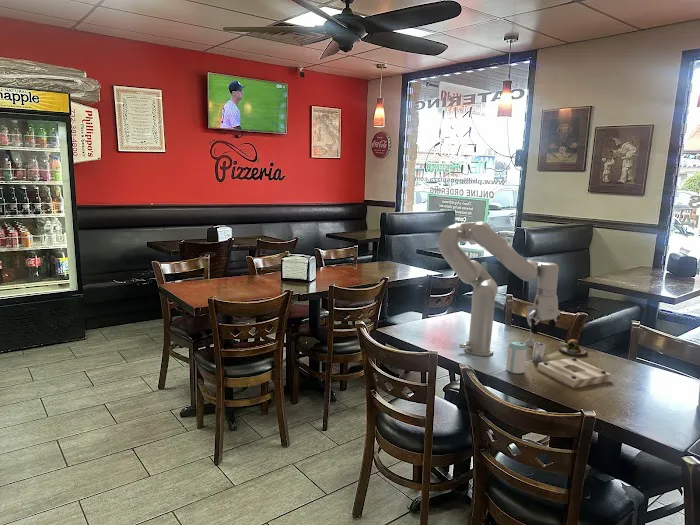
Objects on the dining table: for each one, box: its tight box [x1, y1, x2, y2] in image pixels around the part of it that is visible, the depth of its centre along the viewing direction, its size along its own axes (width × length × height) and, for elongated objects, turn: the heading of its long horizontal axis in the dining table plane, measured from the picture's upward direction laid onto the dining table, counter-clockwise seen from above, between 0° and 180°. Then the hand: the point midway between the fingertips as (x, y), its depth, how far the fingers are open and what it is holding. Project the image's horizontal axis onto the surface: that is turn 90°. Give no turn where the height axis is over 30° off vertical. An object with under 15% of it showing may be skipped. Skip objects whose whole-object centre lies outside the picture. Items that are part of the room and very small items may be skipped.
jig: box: [536, 357, 612, 389], centre depth 194 cm, size 20×18×4 cm
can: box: [505, 340, 528, 375], centre depth 195 cm, size 7×7×12 cm
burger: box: [558, 334, 588, 356], centre depth 221 cm, size 12×12×8 cm
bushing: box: [531, 341, 546, 365], centre depth 207 cm, size 5×5×8 cm
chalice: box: [524, 305, 537, 347], centre depth 228 cm, size 7×7×18 cm
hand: (542, 331), depth 205 cm, fingers open, 9 cm apart
